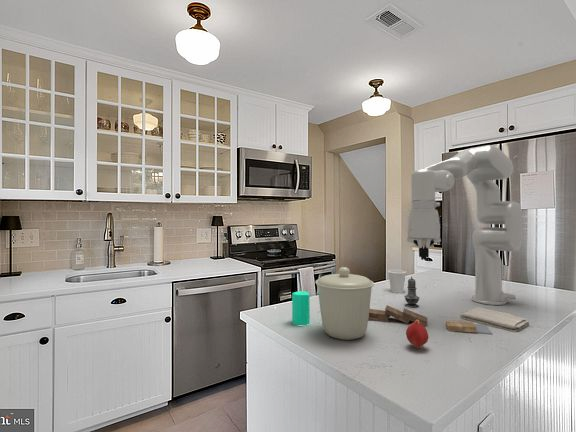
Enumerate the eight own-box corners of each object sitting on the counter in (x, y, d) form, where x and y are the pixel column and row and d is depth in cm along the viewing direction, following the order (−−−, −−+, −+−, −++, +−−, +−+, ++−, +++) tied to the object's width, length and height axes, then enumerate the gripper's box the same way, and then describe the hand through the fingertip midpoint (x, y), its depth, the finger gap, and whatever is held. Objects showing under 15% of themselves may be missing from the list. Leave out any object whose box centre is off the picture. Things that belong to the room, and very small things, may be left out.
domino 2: (388, 315, 114) (366, 313, 116) (389, 320, 109) (365, 318, 112) (388, 320, 114) (366, 318, 116) (389, 324, 109) (365, 322, 112)
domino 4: (427, 317, 109) (404, 308, 112) (427, 322, 105) (403, 312, 108) (426, 321, 109) (402, 312, 112) (426, 326, 105) (401, 316, 108)
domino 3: (408, 314, 112) (386, 305, 114) (409, 319, 107) (386, 309, 110) (407, 318, 112) (385, 308, 115) (407, 323, 108) (384, 313, 110)
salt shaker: (421, 308, 125) (420, 278, 125) (405, 307, 126) (405, 277, 126) (418, 304, 131) (417, 275, 131) (403, 303, 132) (403, 275, 132)
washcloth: (517, 334, 98) (517, 325, 98) (458, 319, 113) (458, 311, 113) (530, 326, 105) (530, 317, 105) (473, 313, 120) (473, 305, 120)
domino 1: (390, 311, 114) (368, 308, 118) (387, 315, 109) (364, 311, 113) (390, 315, 114) (368, 312, 118) (387, 319, 109) (364, 316, 113)
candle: (297, 327, 105) (297, 291, 105) (289, 322, 110) (289, 287, 110) (312, 324, 108) (312, 289, 108) (304, 319, 113) (303, 286, 113)
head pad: (485, 325, 105) (485, 324, 105) (492, 334, 97) (492, 333, 97) (462, 323, 107) (462, 322, 107) (466, 331, 100) (466, 330, 100)
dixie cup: (393, 288, 158) (393, 268, 158) (409, 291, 152) (409, 271, 152) (384, 291, 152) (384, 271, 152) (400, 294, 146) (400, 273, 146)
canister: (308, 340, 94) (307, 270, 94) (324, 321, 111) (323, 261, 111) (370, 349, 87) (369, 274, 87) (377, 327, 104) (376, 264, 104)
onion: (402, 344, 91) (402, 316, 91) (421, 343, 91) (421, 315, 91) (412, 352, 85) (411, 323, 85) (432, 351, 85) (432, 322, 85)
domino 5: (472, 322, 103) (445, 320, 105) (476, 327, 98) (447, 325, 101) (473, 326, 103) (446, 325, 105) (476, 332, 98) (448, 330, 101)
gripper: (445, 205, 109) (446, 258, 109) (400, 206, 114) (400, 257, 114) (449, 205, 102) (449, 261, 102) (400, 206, 107) (400, 260, 107)
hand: (423, 259), depth 108 cm, fingers closed
